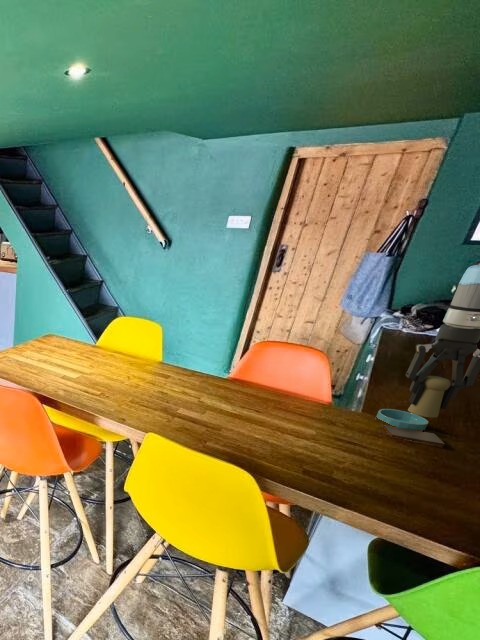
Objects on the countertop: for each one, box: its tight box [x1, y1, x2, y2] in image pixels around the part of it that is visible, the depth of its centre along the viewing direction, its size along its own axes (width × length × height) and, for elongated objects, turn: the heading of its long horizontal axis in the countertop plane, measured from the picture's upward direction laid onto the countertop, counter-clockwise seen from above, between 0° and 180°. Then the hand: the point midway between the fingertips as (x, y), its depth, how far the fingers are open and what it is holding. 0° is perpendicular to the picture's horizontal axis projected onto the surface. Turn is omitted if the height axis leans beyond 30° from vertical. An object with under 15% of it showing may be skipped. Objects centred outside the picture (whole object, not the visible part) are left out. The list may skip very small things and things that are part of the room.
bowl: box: [375, 408, 429, 431], centre depth 127 cm, size 11×11×3 cm
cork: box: [407, 375, 452, 418], centre depth 114 cm, size 6×6×11 cm
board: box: [383, 425, 445, 447], centre depth 119 cm, size 11×7×2 cm, turn 60°
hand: (426, 404), depth 115 cm, fingers closed on cork, 5 cm apart
